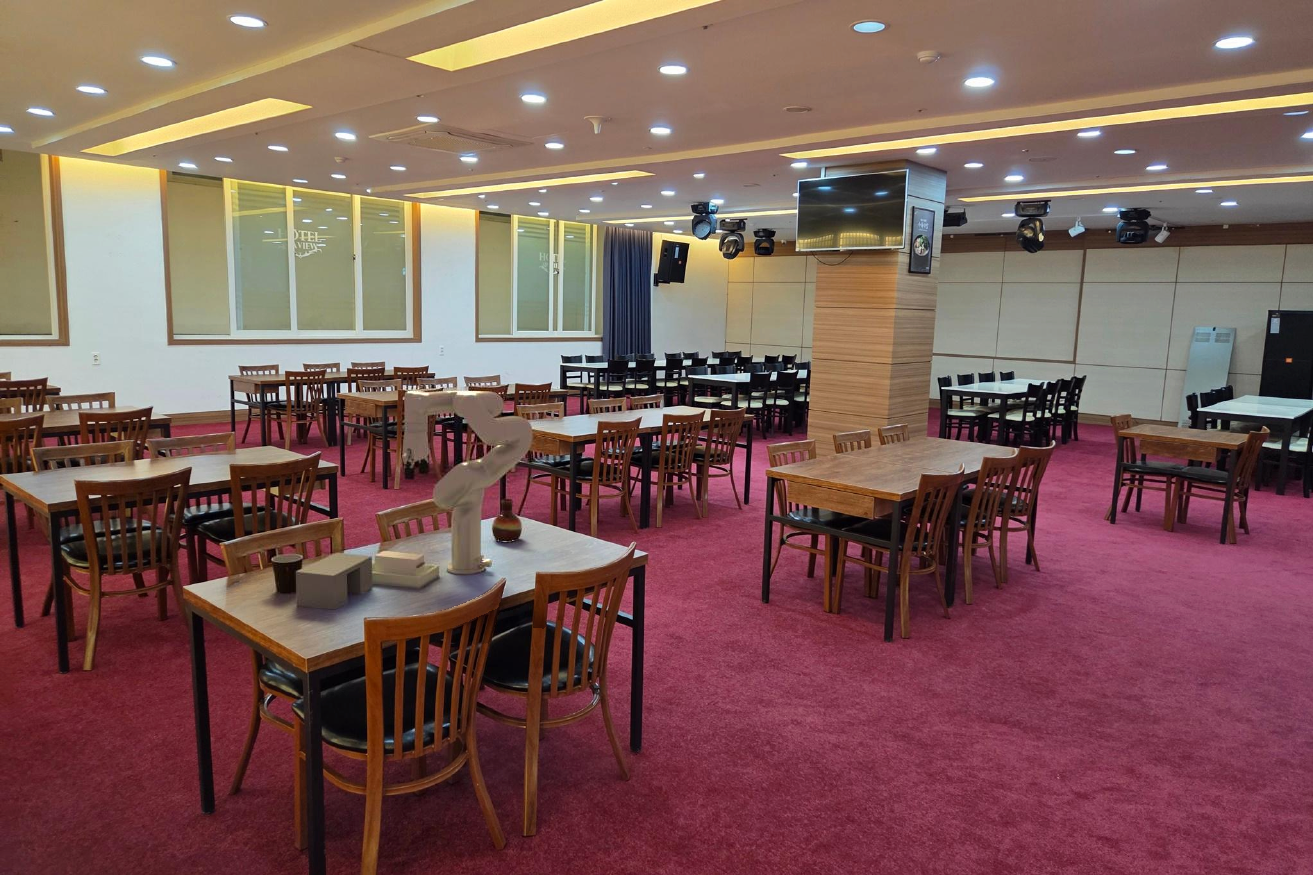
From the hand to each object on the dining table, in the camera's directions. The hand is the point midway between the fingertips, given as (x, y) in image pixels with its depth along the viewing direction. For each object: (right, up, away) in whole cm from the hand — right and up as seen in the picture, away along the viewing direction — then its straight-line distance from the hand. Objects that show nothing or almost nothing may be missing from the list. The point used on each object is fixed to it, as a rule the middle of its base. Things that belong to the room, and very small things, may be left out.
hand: (416, 476), depth 284 cm
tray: (0, -32, -20) cm, 38 cm away
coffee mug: (-29, -33, -36) cm, 57 cm away
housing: (-13, -34, -38) cm, 52 cm away
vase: (+26, -26, +29) cm, 46 cm away
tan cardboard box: (0, -31, -20) cm, 37 cm away
